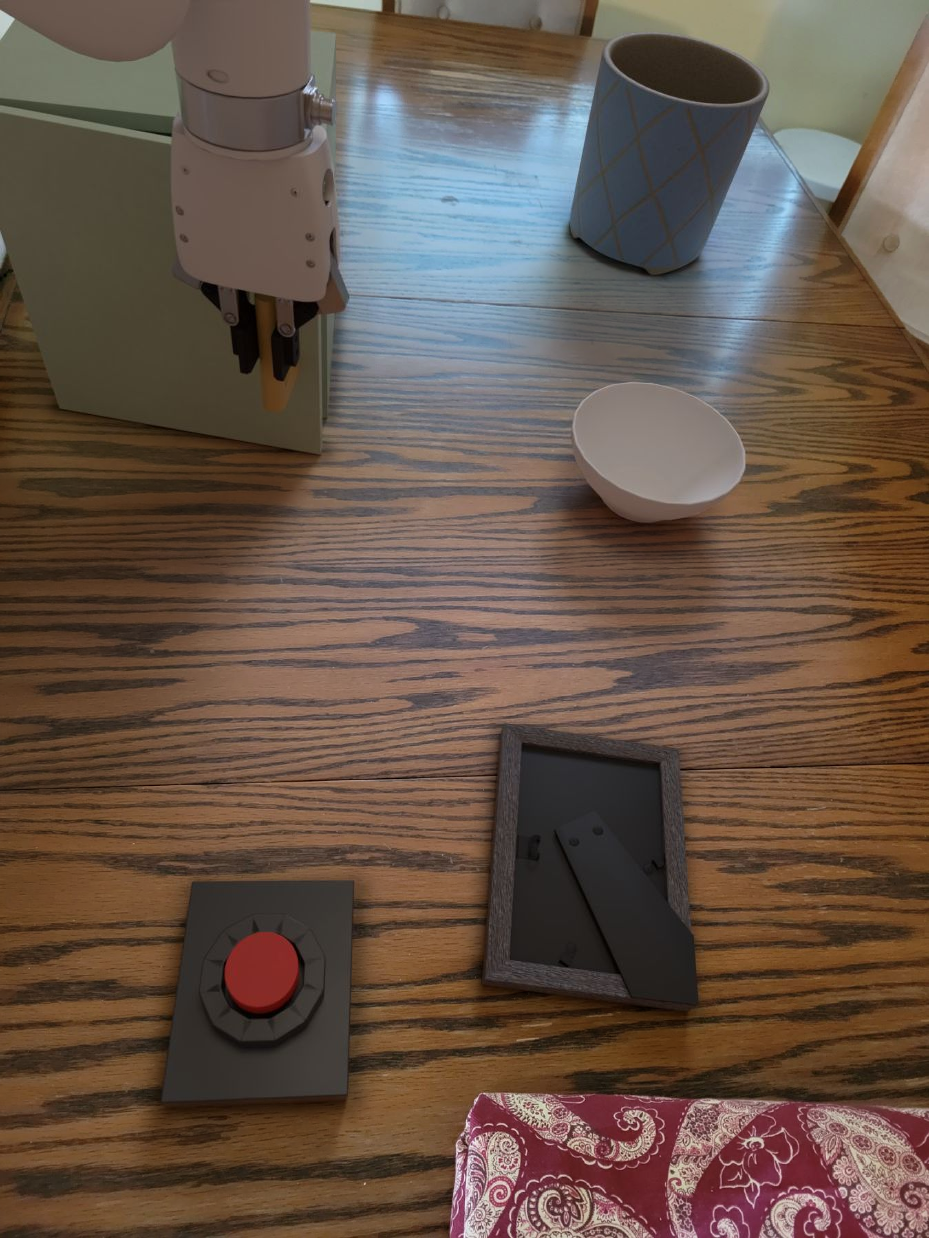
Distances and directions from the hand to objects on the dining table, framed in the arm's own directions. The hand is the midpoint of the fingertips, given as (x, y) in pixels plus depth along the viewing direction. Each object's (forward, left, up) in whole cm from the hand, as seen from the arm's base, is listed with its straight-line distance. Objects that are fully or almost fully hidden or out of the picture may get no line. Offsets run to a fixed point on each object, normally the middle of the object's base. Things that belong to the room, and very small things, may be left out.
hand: (267, 365), depth 63 cm
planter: (+42, +50, -14) cm, 66 cm away
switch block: (+3, -41, -14) cm, 44 cm away
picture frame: (+24, -33, -14) cm, 43 cm away
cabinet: (-8, +20, -14) cm, 26 cm away
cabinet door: (-9, +5, -14) cm, 17 cm away
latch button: (+3, -41, -11) cm, 43 cm away
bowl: (+34, +3, -14) cm, 37 cm away
